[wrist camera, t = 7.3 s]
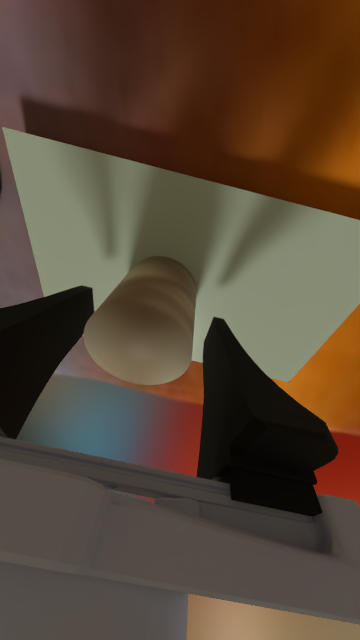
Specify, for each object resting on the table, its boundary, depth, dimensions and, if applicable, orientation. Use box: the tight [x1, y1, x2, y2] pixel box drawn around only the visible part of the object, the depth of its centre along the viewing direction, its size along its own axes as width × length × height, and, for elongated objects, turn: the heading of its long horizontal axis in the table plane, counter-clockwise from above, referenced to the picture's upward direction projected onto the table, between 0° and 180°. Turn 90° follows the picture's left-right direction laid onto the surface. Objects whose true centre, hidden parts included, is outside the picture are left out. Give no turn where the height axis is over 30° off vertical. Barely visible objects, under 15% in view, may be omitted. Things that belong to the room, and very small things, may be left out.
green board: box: [2, 127, 360, 382], centre depth 14 cm, size 22×13×2 cm, turn 78°
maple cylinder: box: [84, 256, 197, 385], centre depth 11 cm, size 5×5×6 cm
